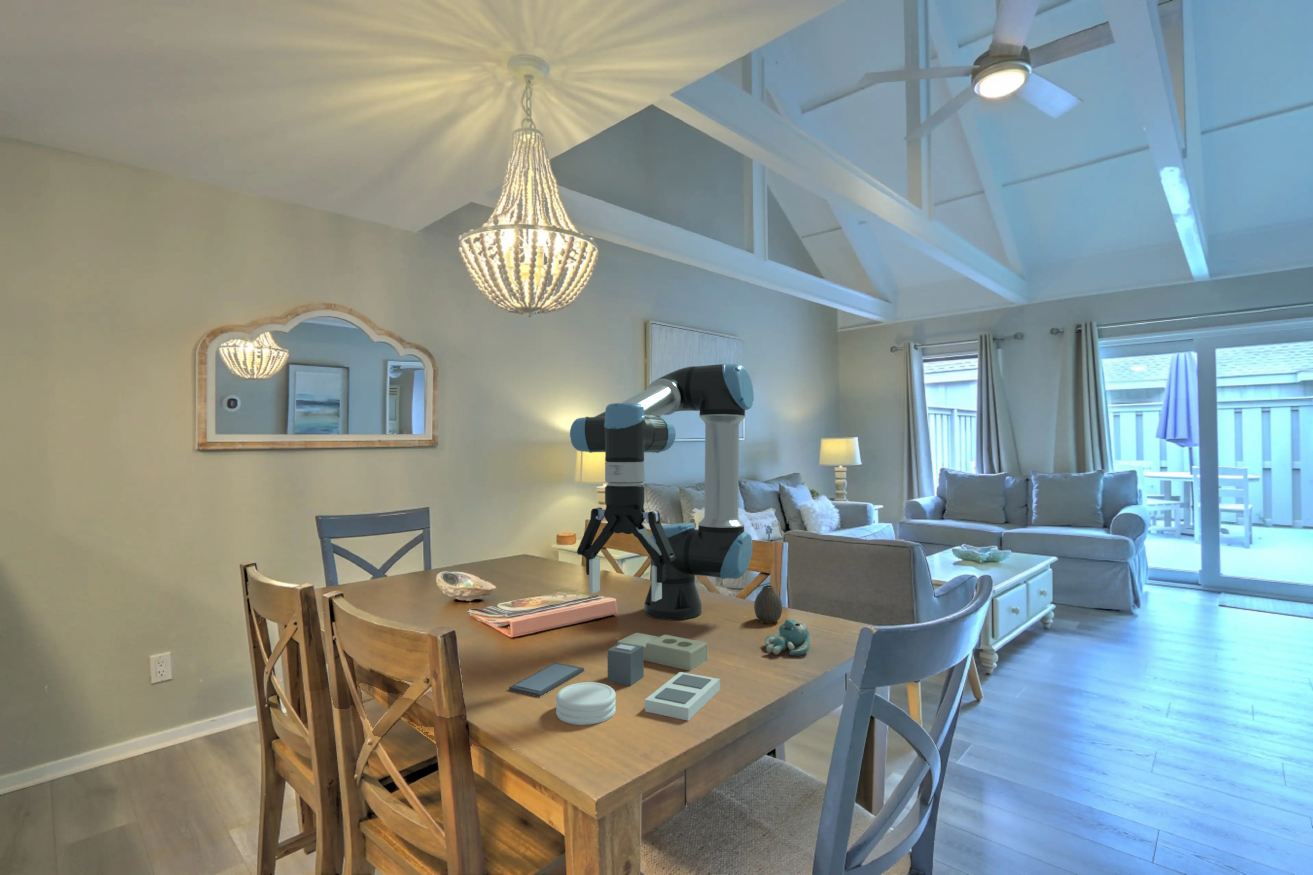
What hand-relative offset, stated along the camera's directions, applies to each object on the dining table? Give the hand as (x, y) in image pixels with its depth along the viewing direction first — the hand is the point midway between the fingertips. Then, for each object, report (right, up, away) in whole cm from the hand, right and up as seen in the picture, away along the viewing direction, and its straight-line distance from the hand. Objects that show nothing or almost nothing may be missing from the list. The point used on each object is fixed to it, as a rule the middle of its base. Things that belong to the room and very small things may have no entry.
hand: (624, 595), depth 120 cm
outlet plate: (+11, -16, -10) cm, 22 cm away
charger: (0, -16, 0) cm, 16 cm away
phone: (-15, -17, 0) cm, 22 cm away
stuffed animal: (+34, -16, +16) cm, 41 cm away
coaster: (-6, -16, -14) cm, 22 cm away
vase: (+34, -16, +38) cm, 53 cm away
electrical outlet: (+7, -17, +12) cm, 22 cm away
